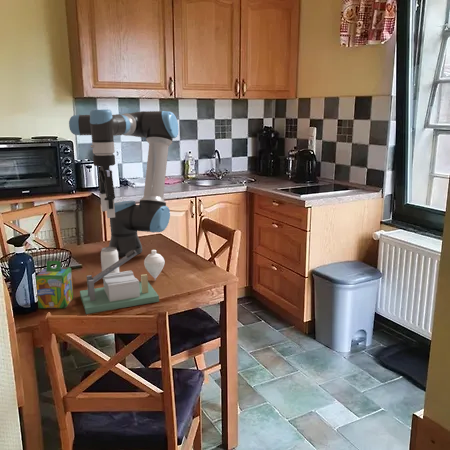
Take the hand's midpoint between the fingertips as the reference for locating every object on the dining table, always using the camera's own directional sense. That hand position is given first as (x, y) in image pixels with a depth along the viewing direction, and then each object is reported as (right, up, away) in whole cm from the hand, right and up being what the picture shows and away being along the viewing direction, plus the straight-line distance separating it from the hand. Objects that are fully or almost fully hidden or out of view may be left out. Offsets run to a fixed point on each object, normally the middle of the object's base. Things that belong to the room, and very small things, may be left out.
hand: (108, 214), depth 172 cm
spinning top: (+16, -25, +7) cm, 31 cm away
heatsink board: (+6, -29, -10) cm, 32 cm away
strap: (+5, -19, -13) cm, 23 cm away
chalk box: (-14, -31, -13) cm, 36 cm away
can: (-1, -25, +9) cm, 27 cm away
